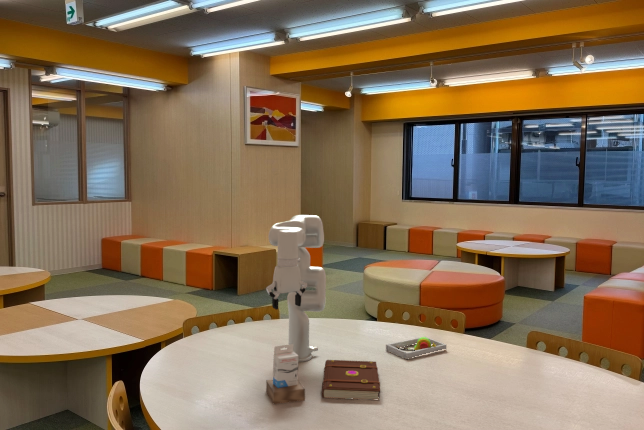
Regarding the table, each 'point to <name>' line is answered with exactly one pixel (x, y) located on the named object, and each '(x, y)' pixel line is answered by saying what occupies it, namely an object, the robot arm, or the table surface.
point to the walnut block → (285, 393)
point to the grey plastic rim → (394, 350)
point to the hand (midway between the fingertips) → (286, 307)
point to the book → (350, 380)
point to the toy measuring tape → (421, 344)
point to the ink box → (285, 366)
